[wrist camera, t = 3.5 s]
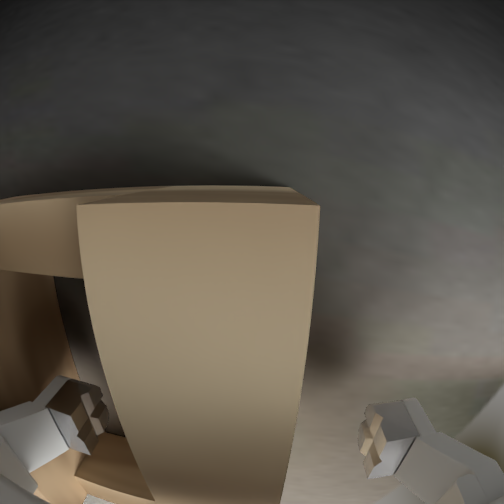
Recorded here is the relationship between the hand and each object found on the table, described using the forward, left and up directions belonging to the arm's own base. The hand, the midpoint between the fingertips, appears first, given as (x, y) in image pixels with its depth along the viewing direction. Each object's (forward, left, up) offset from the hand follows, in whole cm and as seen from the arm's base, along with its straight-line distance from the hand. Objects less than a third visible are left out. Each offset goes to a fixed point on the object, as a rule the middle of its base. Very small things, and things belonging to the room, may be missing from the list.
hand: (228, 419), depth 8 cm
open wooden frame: (0, -3, -2) cm, 4 cm away
